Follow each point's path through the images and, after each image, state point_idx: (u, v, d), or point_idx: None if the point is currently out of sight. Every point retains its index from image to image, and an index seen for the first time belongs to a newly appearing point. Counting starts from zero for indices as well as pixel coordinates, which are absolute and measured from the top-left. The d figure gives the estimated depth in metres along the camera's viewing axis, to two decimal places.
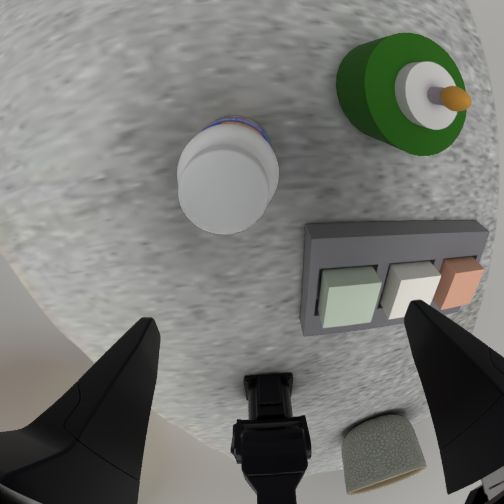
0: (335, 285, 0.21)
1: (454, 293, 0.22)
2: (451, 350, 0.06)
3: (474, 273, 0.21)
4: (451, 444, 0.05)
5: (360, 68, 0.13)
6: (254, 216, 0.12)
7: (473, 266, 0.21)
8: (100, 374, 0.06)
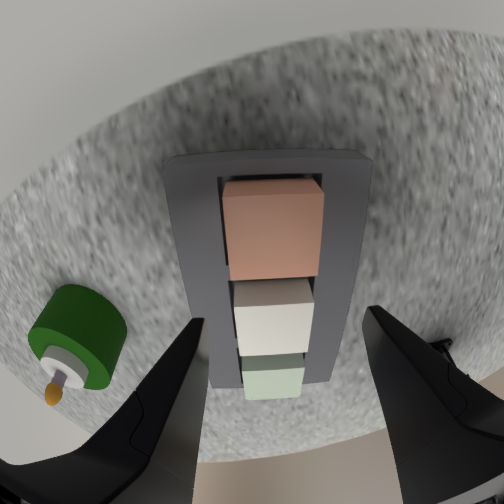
0: (245, 395, 0.21)
1: (280, 262, 0.14)
2: (403, 363, 0.06)
3: (234, 226, 0.13)
4: (406, 462, 0.05)
5: None
6: None
7: None
8: (161, 381, 0.06)
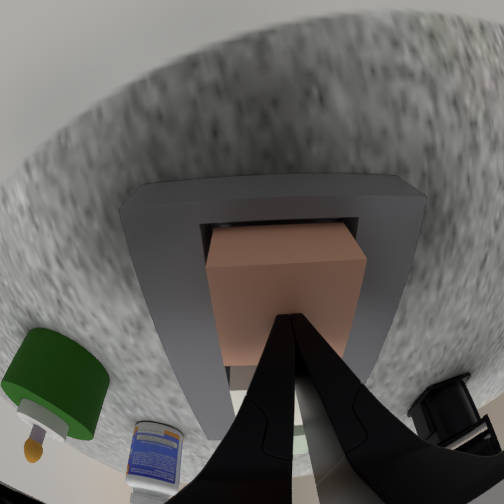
0: None
1: None
2: (308, 379, 0.06)
3: (226, 307, 0.08)
4: (319, 484, 0.05)
5: None
6: None
7: None
8: (273, 381, 0.06)
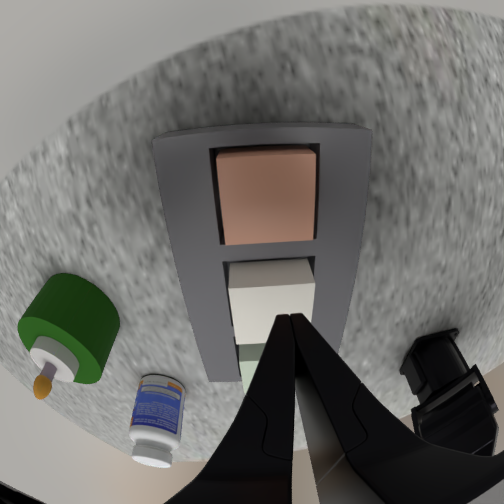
0: (243, 388, 0.20)
1: (275, 224, 0.14)
2: (309, 379, 0.06)
3: (228, 188, 0.13)
4: (320, 484, 0.05)
5: None
6: (157, 460, 0.19)
7: None
8: (273, 381, 0.06)
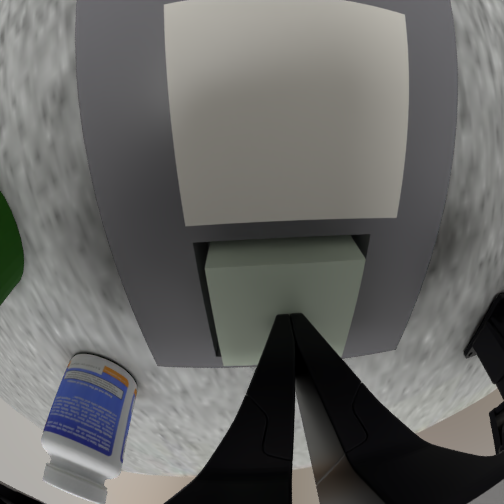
0: (221, 353, 0.10)
1: None
2: (309, 379, 0.06)
3: None
4: (320, 484, 0.05)
5: None
6: (76, 495, 0.08)
7: None
8: (273, 381, 0.06)
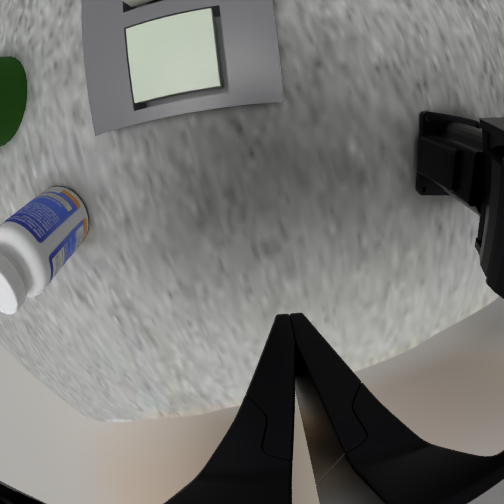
0: (134, 93, 0.12)
1: None
2: (308, 379, 0.06)
3: None
4: (320, 484, 0.05)
5: None
6: None
7: None
8: (273, 381, 0.06)
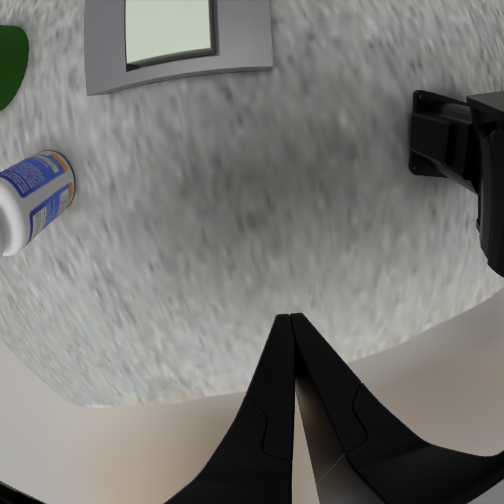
0: (127, 54, 0.11)
1: None
2: (309, 379, 0.06)
3: None
4: (320, 484, 0.05)
5: None
6: None
7: None
8: (273, 381, 0.06)
